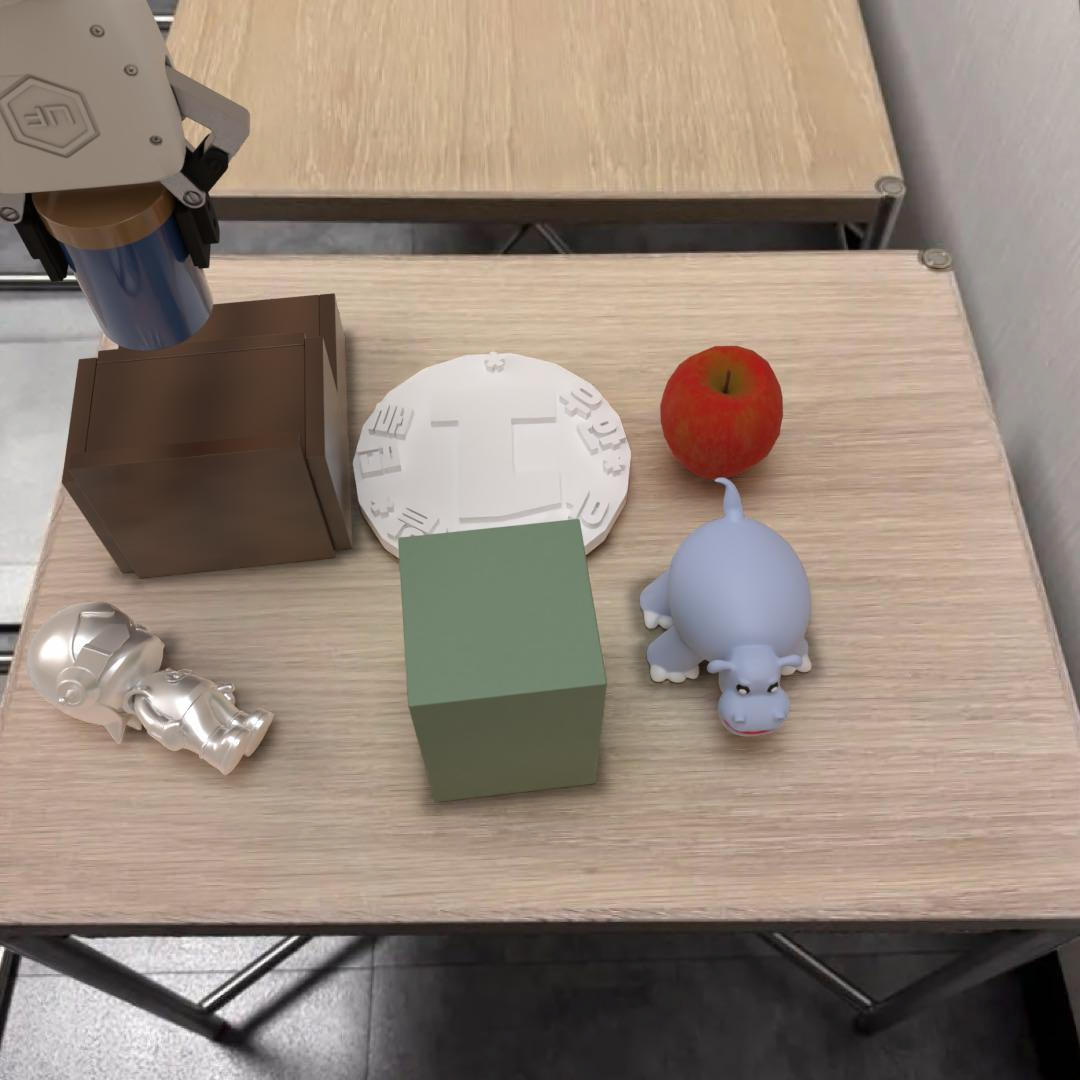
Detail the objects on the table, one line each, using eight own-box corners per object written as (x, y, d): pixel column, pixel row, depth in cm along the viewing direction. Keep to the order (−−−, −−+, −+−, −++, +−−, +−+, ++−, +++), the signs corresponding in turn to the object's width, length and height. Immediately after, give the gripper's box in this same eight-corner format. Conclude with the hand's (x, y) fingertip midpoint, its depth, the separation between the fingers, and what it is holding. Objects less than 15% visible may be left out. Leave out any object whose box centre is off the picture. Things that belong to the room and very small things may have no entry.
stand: (434, 803, 66) (408, 706, 53) (424, 656, 71) (397, 537, 58) (595, 783, 66) (607, 683, 54) (573, 639, 72) (579, 518, 59)
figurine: (225, 739, 60) (3, 604, 61) (178, 840, 62) (-35, 708, 63) (306, 674, 70) (114, 560, 71) (264, 763, 72) (78, 650, 73)
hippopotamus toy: (660, 763, 67) (676, 703, 59) (632, 558, 75) (643, 480, 67) (830, 751, 67) (869, 690, 59) (785, 548, 75) (814, 470, 67)
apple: (681, 404, 82) (698, 303, 73) (785, 445, 80) (816, 346, 71) (633, 485, 78) (644, 389, 69) (741, 531, 76) (768, 438, 67)
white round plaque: (658, 407, 82) (662, 382, 80) (586, 626, 72) (588, 605, 70) (414, 348, 85) (410, 322, 83) (314, 550, 75) (306, 528, 73)
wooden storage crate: (121, 580, 74) (47, 471, 63) (142, 356, 85) (82, 230, 74) (352, 556, 75) (319, 444, 64) (345, 337, 86) (315, 210, 75)
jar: (90, 359, 59) (22, 234, 51) (101, 271, 63) (39, 142, 55) (214, 347, 59) (165, 221, 52) (219, 261, 63) (173, 131, 55)
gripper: (-267, -10, 40) (-43, 323, 55) (203, -44, 41) (296, 292, 56) (-217, -115, 44) (-21, 223, 59) (211, -144, 45) (296, 195, 60)
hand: (132, 254), depth 58 cm, fingers closed on jar, 6 cm apart
